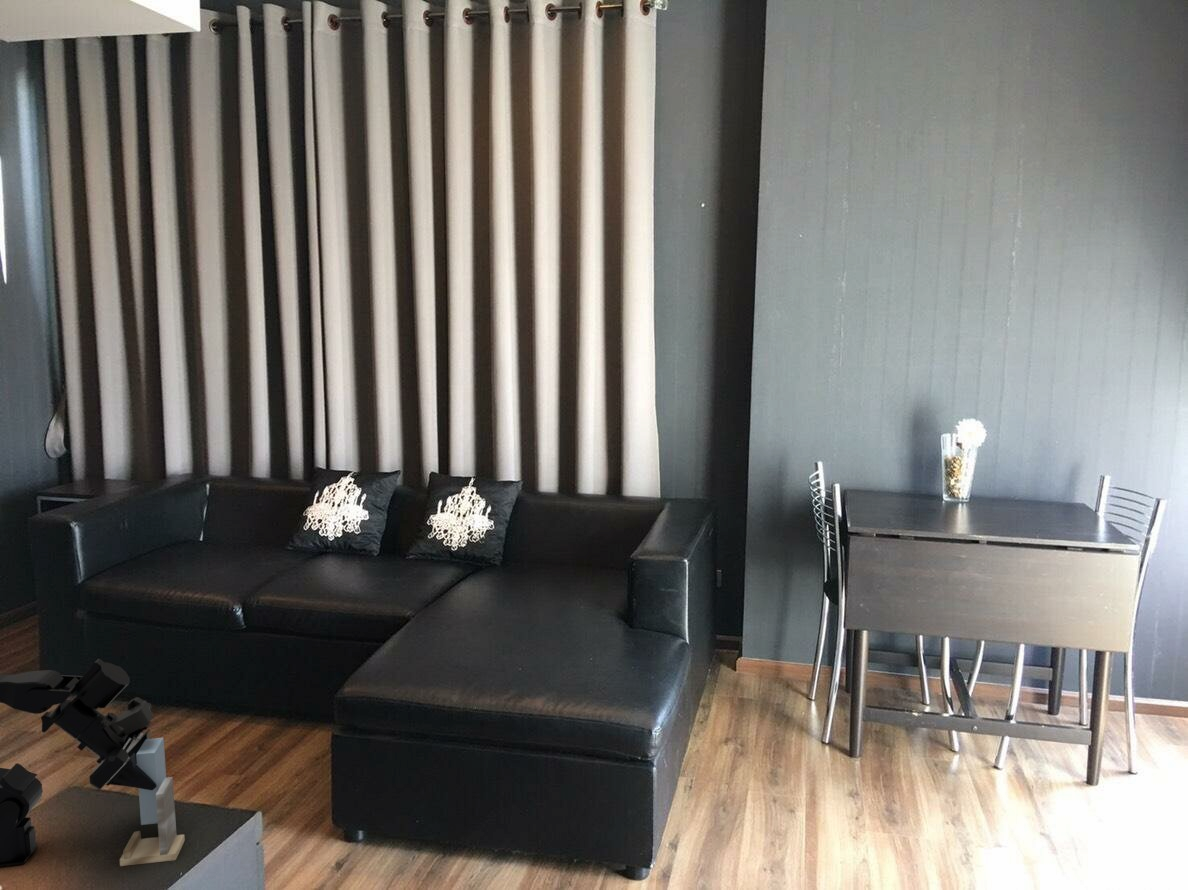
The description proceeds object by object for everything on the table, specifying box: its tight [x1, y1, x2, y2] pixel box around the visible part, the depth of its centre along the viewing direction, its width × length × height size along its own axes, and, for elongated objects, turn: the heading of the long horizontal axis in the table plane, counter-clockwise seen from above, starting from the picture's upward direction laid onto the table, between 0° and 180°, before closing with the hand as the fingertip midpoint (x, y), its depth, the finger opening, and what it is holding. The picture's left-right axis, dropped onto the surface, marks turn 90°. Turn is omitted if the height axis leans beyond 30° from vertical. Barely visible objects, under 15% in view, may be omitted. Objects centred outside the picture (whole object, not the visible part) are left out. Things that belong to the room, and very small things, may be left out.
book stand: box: [119, 776, 186, 867], centre depth 166 cm, size 9×6×12 cm
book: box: [136, 737, 167, 826], centre depth 169 cm, size 3×6×13 cm, turn 12°
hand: (159, 779), depth 169 cm, fingers closed on book, 6 cm apart
